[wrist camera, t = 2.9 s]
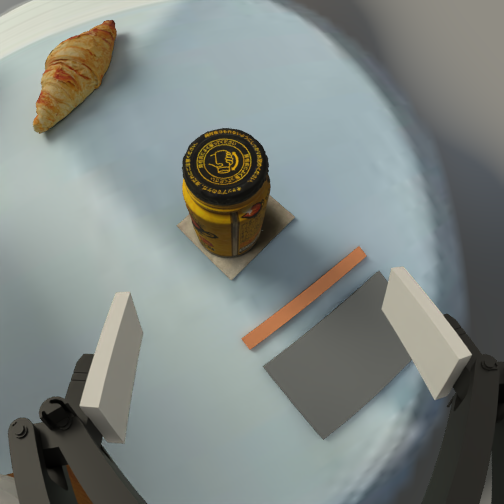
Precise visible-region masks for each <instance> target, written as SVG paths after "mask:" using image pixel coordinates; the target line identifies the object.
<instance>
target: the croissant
mask: <svg viewBox="0 0 504 504" xmlns="http://www.w3.org/2000/svg"><path fill="white" fill-rule="evenodd" d="M115 38H116V29H115V22H114V21H113V20H106V21H104V22H103V23H102V24H101V25H98V26H96V27H94V28H92V29H90V30H89V31H87V32H84V33H82V34H80V35H78V36H74V37H71V38H69V39H67V40H65V41H63V42H61V43H60V44H59V45H58V46H57V47H56V48H55V49H54V50H52V52H51V53H50V54H49V56H48V57H47V60H46V62H45V70H46V71H45V72H44V74H43V77H42V79H41V85H42V90H41V94H40V96H39V98H38V100H37V102H36V108H37V109H36V112H37V114H38V115H37V116H36V118H35V119H34V121H33V127H34V130H35V132H37V133H38V132H39V134H40V133H42V132H45V131H47V130H48V129H49V128H51V127H53V126H54V125H55V124H56V123H57V122H59V121H60V120H62V119H63V118H65V117H66V116H67V115H68V114H69V113H71V111H72V110H73V109H74V108H75V107H77V106H78V105H79V104H80V103H82V102H83V101H84V100H85V98H86V97H87V96H89V95H90V94H91V93H92V92H93V91H94V89H97V88H98V87H99V86H100V85H101V81H102V78H103V76H104V74H105V72H106V71H107V69H108V67H109V64H110V61H111V56H112V55H111V54H112V51H113V46H114V41H115Z"/></svg>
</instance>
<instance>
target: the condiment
mask: <svg viewBox="0 0 504 504" xmlns="http://www.w3.org/2000/svg"><path fill="white" fill-rule="evenodd" d="M268 167H269V163H268V157H267V155H266V154H265V151H264V148H263V146H262V145H261V144H260V143H259V142H258V141H257V140H256V139H254V138H253V137H252V136H251V135H249V134H248V133H245V132H243V131H241V130H237V129H229V128H222V129H217V130H213V131H209V132H206V133H204V134H203V135H201V136H200V137H198V138H197V139H195V141H193V142H192V143H191V144H190V145H189V147H188V150H187V152H186V154H185V156H184V157H183V167H182V169H183V178H184V179H183V186H182V188H183V196H184V200H185V203H186V206H187V209H188V211H189V215H188V216H187V217H186V218H185V219H184V220H183V221H181V222H180V223H179V224H178V225H176V226H177V227H178V228H179V229H180V230H181V231H182V232H183V233H184V234H185V235H186V236H187V237H188V238H189V239H190V240H191V241H192V242H193V243H194V244H195V245H196V246H197V247H198V248H199V249H200V250H201V251H202V252H203V253H204V254H205V255H206V256H207V257H208V258H209V259H210V260H211V261H212V262H213V263H214V264H215V265H216V266H217V267H218V268H219V269H220V270H221V271H222V272H223V273H224V274H225V275H226V276H227V277H228V278H229V279H230V280H232V279H233V278H234V277H235V276H236V275H237V274H238V273H239V272H240V271H241V270H242V269H243V268H244V267H245V266H246V265H247V264H248V263H249V262H250V261H251V260H253V259H254V258H255V257H256V256H257V254H258V253H260V252H261V251H262V250H263V248H265V247H266V246H267V244H268V243H269V242H270V241H271V240H272V239H274V238H275V237H276V236H277V235H278V234H279V233H280V232H281V231H282V230H283V229H284V228H285V226H286V225H287V224H288V223H289V222H291V221H292V220H293V219H294V218H295V217H294V216H293V215H292V214H291V213H290V212H288V211H287V210H286V209H285V208H284V207H283V206H281V205H280V204H279V203H278V202H277V201H276V200H275V199H273V198H272V197H271V196H270V195H269V194H270V188H271V187H270V179H269V175H268V172H269V170H268ZM262 230H263V231H262Z"/></svg>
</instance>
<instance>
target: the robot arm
mask: <svg viewBox="0 0 504 504" xmlns="http://www.w3.org/2000/svg"><path fill="white" fill-rule="evenodd" d="M382 311H383V312H384V314H385V315H386V317H387V319H388V320H389V322H390V324H391V325H392V327H393V328H394V330H395V332H396V333H397V335H398V337H399V338H400V340H401V342H402V343H403V345H404V347H405V348H406V350H407V352H408V354H409V355H410V357H411V359H412V360H413V362H414V364H415V366H416V367H417V369H418V371H419V373H420V374H421V376H422V378H423V380H424V382H425V383H426V385H427V387H428V389H429V391H430V392H431V394H432V396H433V398H434V400H437V399H439V398H442V397H445V396H447V395H448V394H449V392H450V391H451V389H452V388H454V390H455V392H456V393H455V394H454V396H453V397H452V399H451V400H450V402H449V403H448V405H447V407H449V406H450V405H451V403H452V405H451V410H450V414H449V418H448V423H447V427H446V430H445V434H444V438H443V441H442V445H441V448H440V452H439V455H438V458H437V461H436V465H435V468H434V471H433V474H432V477H431V479H430V483H429V485H428V488H427V490H426V493H425V496H424V498H423V501H422V503H421V504H479V503H480V499H481V495H482V491H483V488H484V483H485V479H486V475H487V470H488V466H489V461H490V455H491V451H492V502H491V504H504V362H497V360H496V359H494V358H493V357H491V356H490V355H485V354H483V355H482V354H481V353H480V351H479V350H478V348H477V347H476V346H475V344H474V343H473V342H472V340H471V339H470V338H469V336H468V335H467V334H466V332H465V331H464V330H463V328H461V326H460V325H459V323H458V322H457V321H456V320H455V319H454V318H453V317H451V316H450V315H448V314H444V315H442V313H441V312H440V311H439V309H438V308H437V307H436V306H435V304H434V303H433V302H432V301H431V299H430V298H429V297H428V296H427V294H426V293H425V292H424V291H423V289H422V288H421V287H420V286H419V285H418V283H417V282H416V281H415V280H414V279H413V277H412V276H411V275H410V274H409V273H408V271H407V270H406V269H405V268H404V267H396V268H391V272H390V276H389V281H388V285H387V289H386V293H385V297H384V301H383V305H382ZM142 337H143V331H142V328H141V325H140V322H139V319H138V316H137V312H136V309H135V306H134V303H133V299H132V296H131V293H130V292H118V293H115V296H114V299H113V301H112V304H111V307H110V310H109V312H108V315H107V318H106V321H105V324H104V327H103V330H102V333H101V336H100V339H99V342H98V345H97V348H96V351H95V354H83V355H82V357H81V358H80V359H79V360H78V361H77V363H76V366H75V369H74V374H73V375H72V378H71V381H70V384H69V387H68V391H67V394H66V397H65V399H64V398H61V397H51V398H48V399H47V400H46V401H44V402H43V404H42V405H41V407H40V410H39V416H40V419H41V420H42V421H43V422H42V423H36V424H33V423H32V422H31V421H30V420H29V419H26V418H18V419H16V420H14V421H13V422H12V423H11V425H10V427H9V430H8V438H9V447H10V455H11V462H12V468H13V474H14V480H15V485H16V490H17V495H18V500H19V504H78V502H77V499H76V497H75V494H74V490H73V487H72V484H71V481H70V478H69V474H68V471H67V467H66V465H69V466H70V468H71V470H72V471H73V473H74V475H75V476H76V478H77V480H78V481H79V483H80V484H81V486H82V488H83V489H84V491H85V492H86V494H87V495H88V497H89V498H90V500H91V501H92V503H93V504H147V503H146V502H145V500H144V499H143V498H142V497H141V496H140V495H139V493H138V492H137V491H136V490H135V489H134V487H133V486H132V485H131V484H130V482H129V481H128V480H127V479H126V477H125V476H124V475H123V473H122V472H121V471H120V469H119V468H118V467H117V465H116V464H115V463H114V461H113V460H112V458H111V457H110V456H109V454H108V453H107V451H106V450H105V449H104V447H103V446H102V445H101V442H102V436H103V437H104V439H105V440H106V441H107V442H109V443H121V444H125V437H126V430H127V423H128V416H129V409H130V403H131V397H132V391H133V385H134V379H135V373H136V368H137V362H138V357H139V352H140V347H141V342H142Z"/></svg>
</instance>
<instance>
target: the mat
mask: <svg viewBox="0 0 504 504" xmlns="http://www.w3.org/2000/svg"><path fill="white" fill-rule="evenodd" d="M387 285H388V282H387V280H386V279H385V278H384V276H383V275H382V274H381V272H380V271H378V272H376V273H375V274H374V275H373V276H372V277H371V278H370V279H369V280H368V281H367V282H365V283H364V284H363V285H362V286H361V287H360V288H359V289H358V290H356V291H355V292H354V293H353V294H352V295H351V296H350V297H348V298H347V299H346V300H345V301H344V302H343V303H341V304H340V305H339V306H338V307H337V308H336V309H334V310H333V311H332V312H331V313H330V314H329V315H327V316H326V317H325V318H324V319H323V320H321V321H320V322H319V323H318V324H316V325H315V326H314V327H313V328H312V329H310V330H309V331H308V332H307V333H305V334H304V335H303V336H302V337H300V338H299V339H298V340H297V341H295V342H294V343H293V344H292V345H290V346H289V347H288V348H286V349H285V350H284V351H283V352H281V353H280V354H279V355H277V356H276V357H275V358H273V359H272V360H271V361H270V362H268V363H267V364H266V365H264V366H263V367H264V369H265V370H266V371H267V372H268V374H269V375H270V376H271V377H272V379H273V380H274V381H275V382H276V384H277V385H278V386H279V387H280V389H281V390H282V391H283V392H284V393H285V395H286V396H287V397H288V398H289V400H290V401H291V402H292V403H293V404H294V406H295V407H296V408H297V409H298V410H299V412H300V413H301V414H302V415H303V416H304V418H305V419H306V420H307V421H308V422H309V424H310V425H311V426H312V427H313V428H314V429H315V431H316V432H317V433H318V434H319V435H320V436H321V438H322V439H323V440H324V439H325V438H326V437H327V436H329V435H330V434H331V433H332V432H334V431H335V430H336V429H337V428H339V427H340V426H341V425H342V424H344V423H345V422H346V421H347V420H348V419H349V418H351V417H352V416H353V415H354V414H355V413H356V412H358V411H359V410H360V409H361V408H362V407H363V406H364V405H366V404H367V403H368V402H369V401H370V400H371V399H372V398H373V397H374V396H375V395H377V394H378V393H379V392H380V391H381V390H382V389H383V388H384V387H385V386H386V385H387V384H388V383H389V382H390V381H391V380H392V379H393V378H394V377H395V376H396V375H397V374H398V373H399V372H400V371H401V370H402V369H403V368H404V367H405V366H406V365H407V364H408V363H409V362H410V361H411V360H412V359H411V357H410V355H409V354H408V352H407V350H406V348H405V347H404V345H403V343H402V342H401V340H400V338H399V337H398V335H397V333H396V332H395V330H394V328H393V327H392V325H391V324H390V322H389V320H388V319H387V317H386V315H385V314H384V312H383V311H382V305H383V301H384V297H385V293H386V289H387Z"/></svg>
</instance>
